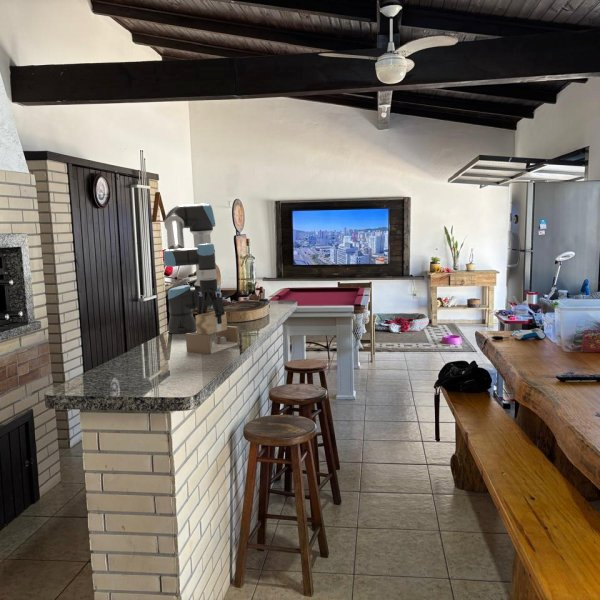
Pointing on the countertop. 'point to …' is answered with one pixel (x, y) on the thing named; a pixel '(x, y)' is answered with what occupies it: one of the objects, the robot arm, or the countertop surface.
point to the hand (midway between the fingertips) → (212, 330)
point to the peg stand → (205, 346)
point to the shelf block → (209, 323)
